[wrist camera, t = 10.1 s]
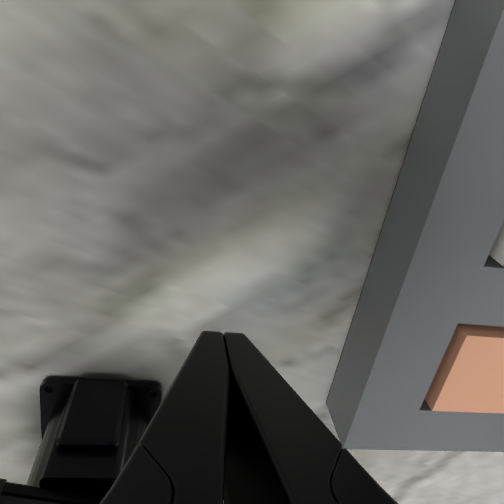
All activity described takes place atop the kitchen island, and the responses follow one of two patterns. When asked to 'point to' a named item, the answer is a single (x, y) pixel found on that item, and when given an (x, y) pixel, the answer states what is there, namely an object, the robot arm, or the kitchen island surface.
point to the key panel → (433, 255)
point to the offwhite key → (498, 247)
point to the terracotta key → (470, 372)
